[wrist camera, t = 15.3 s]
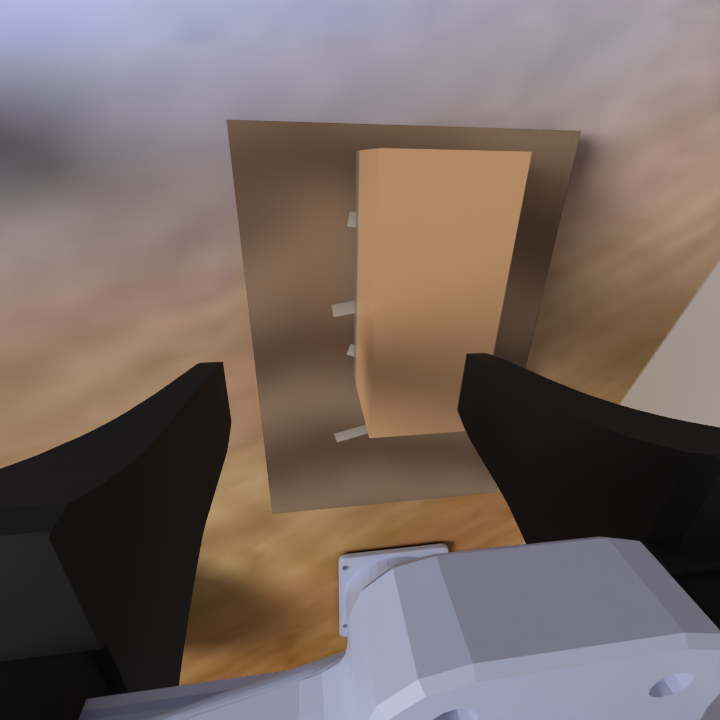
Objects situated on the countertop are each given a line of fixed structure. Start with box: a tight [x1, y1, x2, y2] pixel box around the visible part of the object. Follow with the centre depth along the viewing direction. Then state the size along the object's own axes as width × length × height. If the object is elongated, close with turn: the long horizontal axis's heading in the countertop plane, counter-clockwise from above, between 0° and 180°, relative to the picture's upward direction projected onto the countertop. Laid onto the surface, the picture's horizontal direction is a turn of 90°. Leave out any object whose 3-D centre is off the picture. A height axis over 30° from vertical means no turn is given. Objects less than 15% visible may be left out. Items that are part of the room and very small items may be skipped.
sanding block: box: [354, 148, 532, 438], centre depth 16 cm, size 10×4×5 cm, turn 179°
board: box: [227, 120, 581, 514], centre depth 20 cm, size 20×14×2 cm
